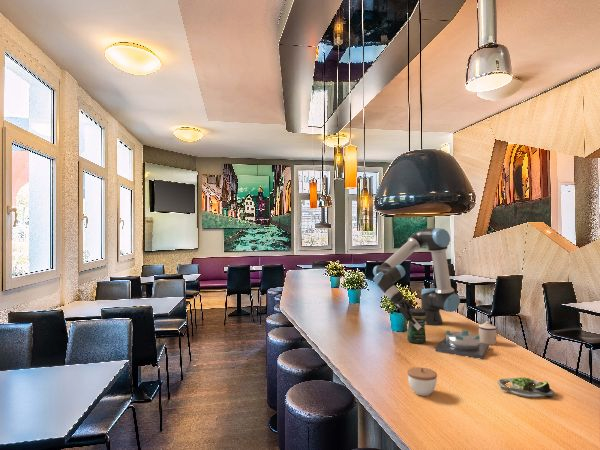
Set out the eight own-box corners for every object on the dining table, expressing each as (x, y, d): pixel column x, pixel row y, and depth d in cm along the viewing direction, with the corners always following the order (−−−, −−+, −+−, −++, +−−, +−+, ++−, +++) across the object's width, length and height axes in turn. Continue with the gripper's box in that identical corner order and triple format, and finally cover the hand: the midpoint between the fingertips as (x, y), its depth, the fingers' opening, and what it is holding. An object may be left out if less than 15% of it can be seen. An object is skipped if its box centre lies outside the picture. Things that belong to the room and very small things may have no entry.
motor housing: (445, 340, 211) (445, 326, 211) (489, 347, 199) (488, 332, 199) (435, 351, 193) (435, 334, 193) (482, 359, 181) (482, 342, 181)
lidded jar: (408, 384, 150) (408, 361, 150) (437, 389, 146) (437, 365, 147) (406, 395, 140) (406, 370, 141) (436, 400, 136) (436, 374, 137)
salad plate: (514, 402, 136) (514, 389, 136) (485, 382, 154) (485, 371, 154) (564, 400, 138) (564, 387, 138) (530, 381, 156) (530, 369, 156)
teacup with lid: (500, 345, 204) (499, 323, 204) (483, 345, 203) (483, 323, 204) (488, 338, 216) (488, 318, 216) (472, 339, 215) (472, 318, 216)
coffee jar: (411, 344, 205) (411, 309, 205) (405, 339, 213) (405, 307, 213) (428, 343, 206) (428, 309, 206) (422, 339, 214) (422, 306, 214)
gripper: (396, 296, 228) (423, 326, 218) (383, 302, 209) (411, 335, 200) (405, 288, 225) (432, 318, 215) (392, 293, 207) (421, 326, 197)
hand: (422, 326), depth 208 cm, fingers closed on coffee jar, 9 cm apart
